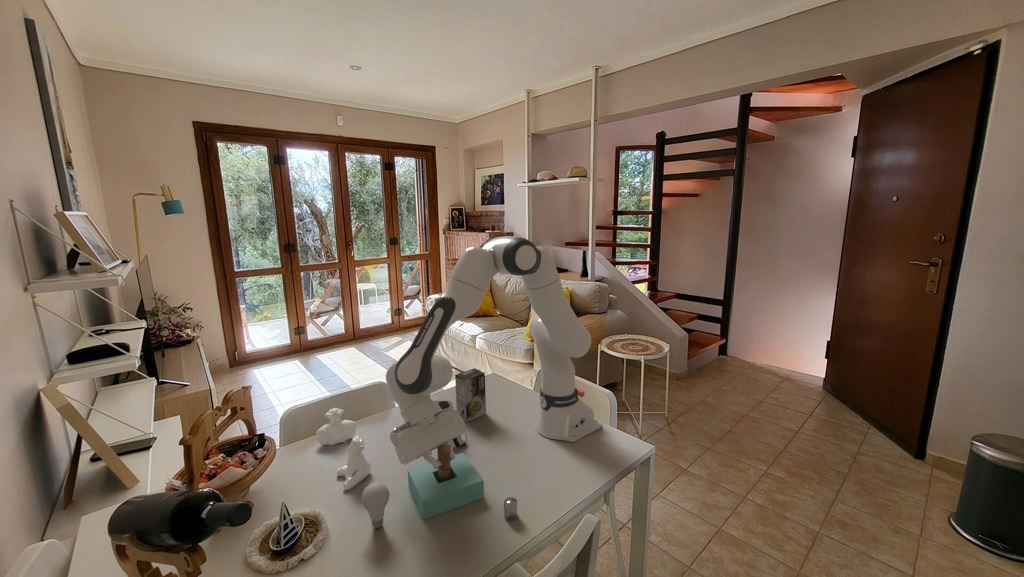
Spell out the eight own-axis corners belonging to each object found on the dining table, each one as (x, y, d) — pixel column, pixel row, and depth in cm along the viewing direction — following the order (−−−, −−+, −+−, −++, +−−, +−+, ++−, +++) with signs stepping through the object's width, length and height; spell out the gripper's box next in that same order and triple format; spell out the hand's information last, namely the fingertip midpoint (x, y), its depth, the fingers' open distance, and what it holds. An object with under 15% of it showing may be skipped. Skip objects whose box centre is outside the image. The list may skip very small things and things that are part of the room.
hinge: (468, 446, 128) (456, 420, 125) (454, 452, 127) (442, 426, 125) (462, 420, 144) (452, 396, 141) (450, 425, 143) (439, 402, 141)
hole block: (463, 468, 117) (463, 452, 116) (483, 497, 105) (483, 480, 104) (408, 485, 109) (407, 469, 108) (423, 519, 97) (422, 501, 96)
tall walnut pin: (448, 477, 108) (447, 443, 107) (452, 484, 106) (451, 449, 104) (437, 481, 107) (435, 446, 105) (441, 488, 104) (439, 452, 102)
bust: (357, 440, 135) (351, 407, 140) (359, 436, 130) (353, 401, 134) (317, 451, 130) (313, 416, 134) (318, 447, 124) (313, 410, 128)
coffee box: (475, 408, 153) (474, 367, 150) (486, 414, 148) (485, 372, 145) (455, 416, 147) (454, 374, 144) (466, 422, 142) (465, 379, 139)
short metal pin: (513, 509, 100) (513, 495, 100) (519, 518, 98) (519, 503, 97) (501, 514, 99) (501, 499, 98) (507, 522, 96) (507, 508, 95)
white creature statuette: (335, 474, 114) (331, 435, 112) (365, 463, 120) (362, 425, 117) (344, 492, 107) (341, 451, 105) (377, 479, 112) (374, 439, 110)
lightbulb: (374, 514, 99) (371, 474, 97) (396, 520, 97) (393, 479, 95) (358, 533, 93) (354, 491, 91) (381, 539, 91) (378, 496, 89)
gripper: (391, 426, 100) (416, 478, 95) (454, 398, 115) (479, 442, 110) (382, 436, 104) (406, 487, 99) (445, 408, 119) (468, 451, 114)
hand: (445, 463), depth 105 cm, fingers closed on tall walnut pin, 3 cm apart
